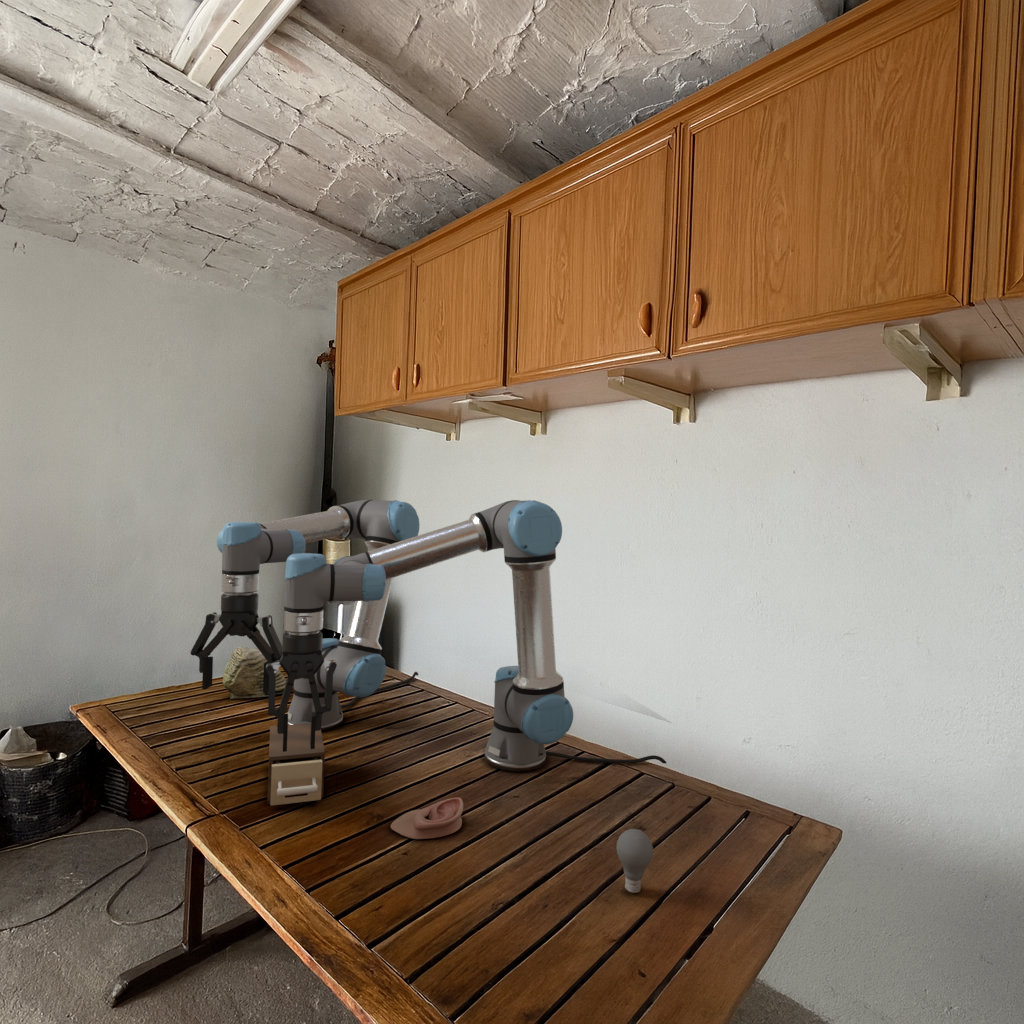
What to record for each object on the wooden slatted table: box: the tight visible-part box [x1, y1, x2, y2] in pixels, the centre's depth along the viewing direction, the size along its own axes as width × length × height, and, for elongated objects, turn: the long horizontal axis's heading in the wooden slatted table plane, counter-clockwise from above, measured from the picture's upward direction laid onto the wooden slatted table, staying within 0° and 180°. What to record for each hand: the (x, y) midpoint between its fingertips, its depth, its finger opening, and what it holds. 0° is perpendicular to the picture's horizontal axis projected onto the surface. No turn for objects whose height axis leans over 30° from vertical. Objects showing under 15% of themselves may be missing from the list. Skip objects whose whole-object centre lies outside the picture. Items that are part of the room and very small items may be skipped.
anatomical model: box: [390, 797, 464, 840], centre depth 124 cm, size 13×4×12 cm
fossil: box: [222, 646, 287, 699], centre depth 198 cm, size 9×18×15 cm, turn 132°
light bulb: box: [615, 828, 654, 894], centre depth 106 cm, size 6×6×10 cm
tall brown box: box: [266, 723, 326, 805], centre depth 140 cm, size 18×11×10 cm, turn 20°
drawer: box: [269, 756, 322, 806], centre depth 134 cm, size 22×10×8 cm, turn 20°
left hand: (237, 689), depth 138 cm, fingers open, 13 cm apart
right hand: (298, 747), depth 126 cm, fingers open, 4 cm apart
